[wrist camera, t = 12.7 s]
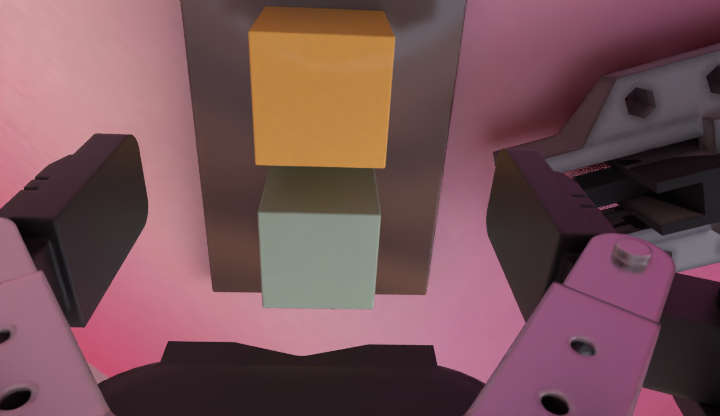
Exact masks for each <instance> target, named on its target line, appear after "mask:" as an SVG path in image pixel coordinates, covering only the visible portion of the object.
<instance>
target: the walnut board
mask: <svg viewBox="0 0 720 416" xmlns="http://www.w3.org/2000/svg"><path fill="white" fill-rule="evenodd" d="M180 2H181V11H182V20H183V29H184V38H185V47H186V56H187V65H188V73H189V82H190V91H191V100H192V109H193V118H194V127H195V136H196V145H197V154H198V163H199V172H200V181H201V190H202V199H203V208H204V217H205V226H206V235H207V244H208V253H209V262H210V271H211V280H212V289H213V292H260V293H262V287H261V268H260V250H259V231H258V209H259V205H260V201H261V198H262V194H263V190H264V186H265V182H266V178H267V174H268V170H269V166H270V165H256V164H255V151H254V133H253V115H252V97H251V79H250V60H249V42H248V31H249V29H250V28H251V27H252V25H253V24H254V22H255V21H256V19H257V18H258V16H259V15H260V14H261V12H262V11H263V9H264V8H265V6H277V7H301V8H324V9H348V10H371V11H384V13H385V15H386V17H387V20H388V22H389V24H390V27H391V29H392V31H393V34H394V36H395V49H394V62H393V75H392V88H391V101H390V114H389V127H388V139H387V152H386V165H385V168H374V169H375V176H376V183H377V191H378V198H379V205H380V212H381V223H380V235H379V248H378V261H377V274H376V287H375V294H399V295H426V292H427V285H428V278H429V271H430V263H431V256H432V249H433V242H434V235H435V227H436V220H437V213H438V206H439V198H440V191H441V184H442V177H443V170H444V162H445V155H446V148H447V141H448V134H449V126H450V119H451V112H452V105H453V97H454V90H455V83H456V76H457V69H458V61H459V54H460V47H461V40H462V33H463V25H464V18H465V11H466V4H467V0H180Z"/></svg>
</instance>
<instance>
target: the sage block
mask: <svg viewBox="0 0 720 416" xmlns="http://www.w3.org/2000/svg"><path fill="white" fill-rule="evenodd" d="M380 223H381V212H380V205H379V198H378V191H377V183H376V176H375V169H374V168H350V167H312V166H274V165H270V166H269V170H268V174H267V178H266V182H265V186H264V190H263V194H262V198H261V201H260V205H259V209H258V231H259V250H260V268H261V287H262V305H263V308H304V309H373V308H374V299H375V287H376V274H377V261H378V248H379V235H380Z"/></svg>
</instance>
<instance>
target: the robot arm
mask: <svg viewBox="0 0 720 416" xmlns="http://www.w3.org/2000/svg"><path fill="white" fill-rule="evenodd" d="M147 215H148V198H147V192H146V186H145V180H144V175H143V169H142V163H141V157H140V151H139V146H138V143H137V140H136V138H135V137H134V136H133V135H125V134H94V135H93V136H92V137H91V138H90V139H89V140H88V141H87V142H86V143H85V144H84V145H83V146H82V147H81V148H80V149H78V150H77V151H76V152H75V153H74V154H73V155H68V156H66V157H64V158H62V159H60V160H58V161H55V162H53V163H51V164H49V165H48V166H47V167H46V168H44V169H43V170H42V171H41V172H40V173H39V174H38V175H37V176H36V177H35V180H31V181H30V182H29V183H28V184H27V185H26V186H25V187H24V190H21V191H20V192H18V193H17V194H16V195H15V196H14V197H13V198H12V199H11V200H10V201H9V202H8V203H7V204H5V205H4V206H3V207H2V208H1V209H0V416H633V413H634V410H635V407H636V404H637V401H638V398H639V395H640V391H641V388H642V387H643V388H647V389H651V390H655V391H659V392H663V393H666V394H670V395H672V396H673V398H674V400H675V402H676V403H677V405H678V407H679V409H680V410H681V412H682V414H683V415H684V416H720V282H716V281H712V280H707V279H702V278H697V277H693V276H688V275H683V274H679V273H675V272H676V265H675V262H674V260H673V259H672V258H671V257H670V255H669V254H667V253H666V252H665V251H664V250H662V249H661V248H660V247H658V246H656V245H654V244H652V243H650V242H648V241H646V240H643V239H640V238H637V237H634V236H630V235H625V234H619V233H618V232H617V231H616V230H615V229H614V227H613V226H612V225H611V224H610V222H609V221H608V220H607V219H606V218H605V216H604V215H603V214H602V213H601V211H600V210H599V209H598V208H596V205H595V204H594V203H593V202H592V200H591V199H590V198H587V194H586V193H585V192H584V191H583V189H582V188H581V187H580V186H579V185H578V183H577V182H575V181H573V180H572V179H570V178H569V177H567V176H565V175H564V174H562V173H560V172H556V171H553V170H552V168H551V167H550V166H549V164H548V163H547V162H546V161H545V159H544V158H543V157H542V155H541V154H540V153H539V152H538V151H537V150H529V149H502V150H501V151H500V153H499V156H498V159H497V163H496V168H495V173H494V178H493V183H492V188H491V194H490V199H489V204H488V209H487V217H486V224H487V233H488V236H489V239H490V241H491V244H492V246H493V248H494V251H495V253H496V255H497V258H498V260H499V262H500V264H501V267H502V269H503V271H504V274H505V276H506V278H507V281H508V283H509V285H510V288H511V290H512V292H513V295H514V297H515V299H516V302H517V304H518V306H519V309H520V311H521V313H522V315H523V318H524V320H525V322H526V324H525V325H524V327H523V328H522V330H521V331H520V333H519V334H518V336H517V337H516V339H515V340H514V342H513V343H512V345H511V346H510V348H509V349H508V351H507V352H506V354H505V355H504V357H503V358H502V360H501V362H500V363H499V365H498V366H497V368H496V369H495V371H494V372H493V374H492V375H491V377H490V378H489V380H488V381H487V383H486V384H485V383H483V382H481V381H479V380H477V379H475V378H473V377H471V376H469V375H466V374H464V373H462V372H459V371H456V370H452V369H449V368H446V367H442V366H438V365H437V362H436V357H435V352H434V347H433V345H374V344H369V345H363V346H358V347H352V348H347V349H341V350H336V351H330V352H325V353H319V354H314V355H308V356H296V355H291V354H286V353H282V352H277V351H272V350H268V349H263V348H258V347H254V346H249V345H245V344H240V343H235V342H182V341H168V343H167V346H166V348H165V351H164V354H163V356H162V359H161V361H160V362H157V363H152V364H148V365H144V366H141V367H137V368H134V369H131V370H128V371H125V372H123V373H120V374H118V375H115V376H113V377H111V378H109V379H107V380H104V381H102V382H101V383H99V384H97V382H96V381H95V378H94V376H93V374H92V372H91V370H90V368H89V366H88V364H87V362H86V360H85V357H84V355H83V353H82V351H81V349H80V347H79V345H78V343H77V341H76V339H75V337H74V335H73V333H72V331H71V328H70V327H85V326H86V324H87V323H88V321H89V319H90V318H91V316H92V314H93V313H94V311H95V309H96V307H97V306H98V304H99V302H100V301H101V299H102V297H103V296H104V294H105V292H106V291H107V289H108V287H109V286H110V284H111V282H112V280H113V279H114V277H115V275H116V274H117V272H118V270H119V269H120V267H121V265H122V264H123V262H124V260H125V259H126V257H127V255H128V253H129V252H130V250H131V248H132V247H133V245H134V243H135V242H136V240H137V238H138V237H139V235H140V233H141V232H142V230H143V228H144V226H145V224H146V220H147Z"/></svg>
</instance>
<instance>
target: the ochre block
mask: <svg viewBox="0 0 720 416" xmlns="http://www.w3.org/2000/svg"><path fill="white" fill-rule="evenodd" d="M248 42H249V60H250V79H251V97H252V115H253V133H254V151H255V164H256V165H274V166H312V167H350V168H385V165H386V152H387V139H388V127H389V114H390V101H391V88H392V75H393V62H394V49H395V36H394V34H393V31H392V29H391V27H390V24H389V22H388V20H387V17H386V15H385V13H384V11H371V10H348V9H324V8H301V7H277V6H265V8H264V9H263V11H262V12H261V14H260V15H259V16H258V18H257V19H256V21H255V22H254V24H253V25H252V27H251V28H250V29H249V31H248Z"/></svg>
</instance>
